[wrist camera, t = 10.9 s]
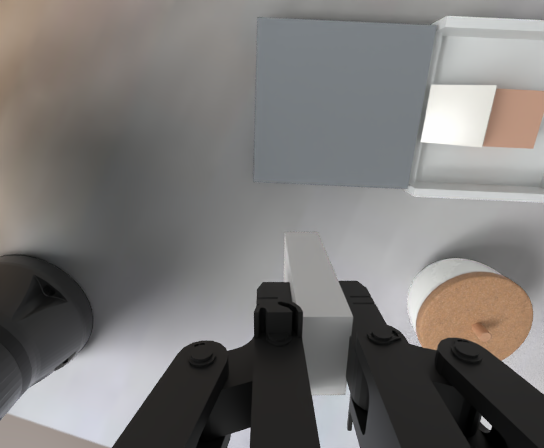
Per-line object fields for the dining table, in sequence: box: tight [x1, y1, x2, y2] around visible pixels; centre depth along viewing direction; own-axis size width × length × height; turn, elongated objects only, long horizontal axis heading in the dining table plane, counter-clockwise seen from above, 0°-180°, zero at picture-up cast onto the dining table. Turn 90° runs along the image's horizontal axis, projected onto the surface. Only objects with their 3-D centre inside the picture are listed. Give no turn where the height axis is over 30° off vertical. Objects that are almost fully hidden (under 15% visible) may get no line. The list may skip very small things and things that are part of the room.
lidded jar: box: [407, 258, 533, 361], centre depth 36 cm, size 11×11×9 cm
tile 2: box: [421, 85, 497, 147], centre depth 31 cm, size 5×5×2 cm
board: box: [253, 17, 437, 189], centre depth 32 cm, size 15×14×3 cm
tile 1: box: [483, 89, 544, 149], centre depth 32 cm, size 5×5×2 cm
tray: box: [403, 16, 544, 203], centre depth 32 cm, size 15×15×4 cm
